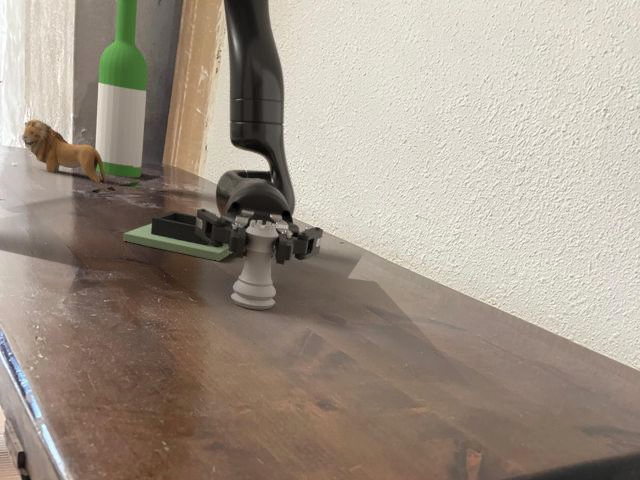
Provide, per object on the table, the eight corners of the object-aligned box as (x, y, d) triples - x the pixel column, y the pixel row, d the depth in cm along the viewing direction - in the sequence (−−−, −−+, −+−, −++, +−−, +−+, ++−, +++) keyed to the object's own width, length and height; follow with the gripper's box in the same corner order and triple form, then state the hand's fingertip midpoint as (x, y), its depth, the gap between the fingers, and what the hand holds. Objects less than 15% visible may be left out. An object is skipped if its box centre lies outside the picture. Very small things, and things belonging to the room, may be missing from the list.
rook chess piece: (272, 300, 77) (283, 221, 74) (277, 312, 73) (289, 230, 70) (228, 295, 76) (238, 215, 73) (231, 307, 72) (242, 224, 69)
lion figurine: (16, 179, 116) (16, 117, 112) (29, 176, 120) (30, 116, 117) (110, 196, 116) (113, 135, 112) (120, 192, 121) (123, 134, 117)
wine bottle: (86, 176, 130) (94, -20, 118) (128, 180, 135) (140, -8, 122) (104, 185, 125) (115, -19, 112) (147, 189, 129) (161, -7, 117)
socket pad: (123, 241, 90) (124, 216, 89) (159, 227, 101) (160, 205, 99) (218, 261, 89) (221, 236, 88) (244, 245, 100) (247, 223, 98)
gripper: (199, 174, 82) (189, 196, 67) (324, 195, 84) (342, 221, 69) (192, 242, 85) (181, 278, 70) (313, 260, 87) (328, 300, 72)
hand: (261, 250), depth 69 cm, fingers closed on rook chess piece, 3 cm apart
